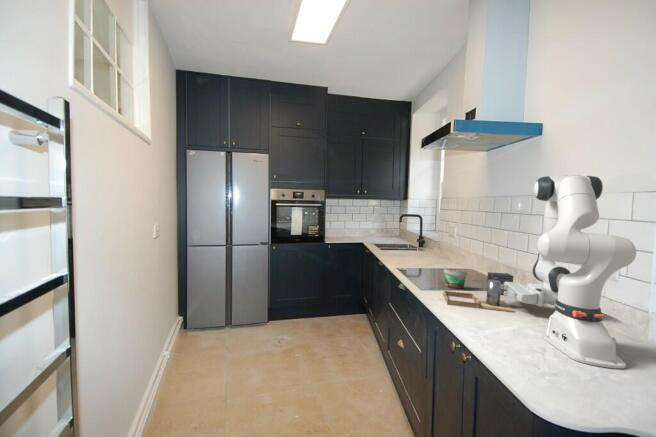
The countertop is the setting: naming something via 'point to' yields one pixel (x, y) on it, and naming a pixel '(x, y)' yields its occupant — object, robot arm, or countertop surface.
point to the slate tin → (493, 293)
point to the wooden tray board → (478, 302)
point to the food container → (455, 279)
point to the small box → (500, 278)
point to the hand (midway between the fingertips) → (499, 289)
